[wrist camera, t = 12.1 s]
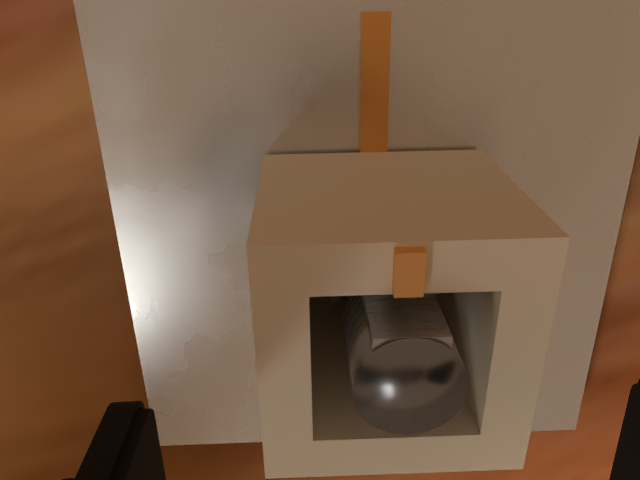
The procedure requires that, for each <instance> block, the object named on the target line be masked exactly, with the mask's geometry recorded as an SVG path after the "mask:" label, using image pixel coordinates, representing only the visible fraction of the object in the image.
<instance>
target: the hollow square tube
mask: <svg viewBox="0 0 640 480" xmlns="http://www.w3.org/2000/svg"><path fill="white" fill-rule="evenodd" d="M569 240H570V237H569V236H568V235H567V234H566V233H565V232H564V231H563V230H562V229H561V228H560V227H559V226H558V225H557V224H556V223H555V222H554V221H553V220H552V219H551V218H550V217H549V216H548V215H547V214H546V213H545V212H544V211H543V210H542V209H541V208H540V207H539V206H538V205H537V204H536V203H535V202H534V201H533V200H532V199H531V198H530V197H529V196H528V195H527V194H526V193H525V192H524V191H523V190H521V189H520V188H519V187H518V186H517V185H516V184H515V183H514V182H513V181H512V180H511V179H510V178H509V177H508V176H507V175H506V174H505V173H504V172H503V171H502V170H501V169H500V168H499V167H498V166H497V165H496V164H495V163H494V162H493V161H492V160H491V159H490V158H489V157H488V156H487V155H486V154H485V153H484V152H483V151H482V150H442V151H401V152H359V153H318V154H276V155H264V158H263V163H262V168H261V173H260V179H259V184H258V189H257V194H256V199H255V204H254V209H253V214H252V219H251V225H250V230H249V235H248V240H247V245H246V250H247V262H248V274H249V286H250V298H251V310H252V323H253V335H254V347H255V359H256V371H257V383H258V396H259V408H260V420H261V432H262V444H263V456H264V469H265V479H271V478H298V477H325V476H351V475H378V474H405V473H431V472H458V471H485V470H511V469H523V466H524V461H525V456H526V452H527V447H528V442H529V437H530V432H531V427H532V422H533V417H534V412H535V407H536V402H537V398H538V393H539V388H540V383H541V378H542V373H543V368H544V363H545V358H546V353H547V348H548V343H549V339H550V334H551V329H552V324H553V319H554V314H555V309H556V304H557V299H558V294H559V289H560V285H561V280H562V275H563V270H564V265H565V260H566V255H567V250H568V245H569ZM424 293H434V295H435V298H436V300H437V302H438V304H439V307H440V309H441V311H442V313H443V316H444V318H445V320H446V322H447V325H448V327H449V329H450V331H451V334H452V336H453V340H454V343H455V345H456V347H457V350H458V352H459V354H460V356H461V359H462V361H463V363H464V365H465V368H466V370H467V373H468V378H469V390H468V394H467V397H466V400H465V402H464V404H463V406H462V407H461V408H460V410H459V411H458V412H457V413H456V414H455V415H454V416H453V417H452V418H451V419H450V420H449V421H447V422H446V423H444V424H443V425H441V426H439V427H437V428H435V429H433V430H430V431H427V432H423V433H419V434H411V435H400V434H392V433H388V432H385V431H382V430H379V429H377V428H375V427H374V426H372V425H371V424H369V423H368V422H367V421H366V420H364V419H363V417H362V416H361V415H360V414H359V412H358V410H357V409H356V406H355V404H354V400H353V393H352V386H351V378H350V370H349V363H348V355H347V347H346V339H345V332H344V324H343V316H342V309H341V303H326V304H309V297H322V296H356V295H389V294H393V296H394V298H411V297H424Z"/></svg>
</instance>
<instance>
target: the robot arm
mask: <svg viewBox="0 0 640 480" xmlns="http://www.w3.org/2000/svg"><path fill="white" fill-rule="evenodd" d="M62 480H166V478H165V472H164V466H163V460H162V454H161V448H160V442H159V437H158V431H157V425H156V419H155V413H154V410H153V409H152V408H148V409H145V407H144V404H143V402H141V401H131V402H112V403H110V404H109V406H108V407H107V410H106V412H105V414H104V416H103V418H102V420H101V423H100V425H99V427H98V429H97V431H96V434H95V436H94V438H93V440H92V442H91V444H90V447H89V449H88V451H87V453H86V455H85V457H84V460H83V462H82V464H81V466H80V468H79V471H78V473H77V475H76V477H75V478H68V479H62ZM609 480H640V379H639V381H638V383H637V384H634V385H633V386H632V388H631V390H630V395H629V399H628V403H627V407H626V412H625V416H624V420H623V424H622V429H621V433H620V437H619V441H618V445H617V450H616V454H615V458H614V462H613V467H612V471H611V475H610V479H609Z"/></svg>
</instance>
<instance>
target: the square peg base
mask: <svg viewBox="0 0 640 480" xmlns="http://www.w3.org/2000/svg"><path fill="white" fill-rule="evenodd" d="M73 3H74V8H75V13H76V19H77V24H78V29H79V35H80V40H81V46H82V51H83V56H84V62H85V67H86V72H87V78H88V83H89V88H90V94H91V99H92V105H93V110H94V115H95V121H96V126H97V131H98V137H99V142H100V147H101V153H102V158H103V164H104V169H105V174H106V180H107V185H108V190H109V196H110V201H111V206H112V212H113V217H114V222H115V228H116V233H117V239H118V244H119V249H120V255H121V260H122V265H123V271H124V276H125V281H126V287H127V292H128V298H129V303H130V308H131V314H132V319H133V324H134V330H135V335H136V340H137V346H138V351H139V356H140V362H141V367H142V373H143V378H144V383H145V389H146V394H147V399H148V405H149V408H152V409H153V410H154V413H155V419H156V425H157V431H158V437H159V442H160V446H170V445H196V444H221V443H247V442H262V432H261V420H260V408H259V396H258V383H257V371H256V359H255V347H254V335H253V323H252V310H251V298H250V286H249V274H248V262H247V250H246V245H247V240H248V235H249V230H250V225H251V219H252V214H253V209H254V204H255V199H256V194H257V189H258V184H259V179H260V173H261V168H262V163H263V158H264V155H276V154H318V153H359V152H401V151H442V150H482V151H483V152H484V153H485V154H486V155H487V156H488V157H489V158H490V159H491V160H492V161H493V162H494V163H495V164H496V165H497V166H498V167H499V168H500V169H501V170H502V171H503V172H504V173H505V174H506V175H507V176H508V177H509V178H510V179H511V180H512V181H513V182H514V183H515V184H516V185H517V186H518V187H519V188H520V189H521V190H523V191H524V192H525V193H526V194H527V195H528V196H529V197H530V198H531V199H532V200H533V201H534V202H535V203H536V204H537V205H538V206H539V207H540V208H541V209H542V210H543V211H544V212H545V213H546V214H547V215H548V216H549V217H550V218H551V219H552V220H553V221H554V222H555V223H556V224H557V225H558V226H559V227H560V228H561V229H562V230H563V231H564V232H565V233H566V234H567V235H568V236H569V237H570V240H569V245H568V250H567V255H566V260H565V265H564V270H563V275H562V280H561V285H560V289H559V294H558V299H557V304H556V309H555V314H554V319H553V324H552V329H551V334H550V339H549V343H548V348H547V353H546V358H545V363H544V368H543V373H542V378H541V383H540V388H539V393H538V398H537V402H536V407H535V412H534V417H533V422H532V427H531V431H551V430H575V429H576V425H577V420H578V415H579V411H580V406H581V402H582V397H583V393H584V388H585V383H586V379H587V374H588V370H589V365H590V360H591V356H592V351H593V347H594V342H595V338H596V333H597V328H598V324H599V319H600V315H601V310H602V306H603V301H604V296H605V292H606V287H607V283H608V278H609V274H610V269H611V264H612V260H613V255H614V251H615V246H616V242H617V237H618V232H619V228H620V223H621V219H622V214H623V209H624V205H625V200H626V196H627V191H628V187H629V182H630V177H631V173H632V168H633V164H634V159H635V155H636V150H637V145H638V141H639V136H640V0H73ZM326 303H341V309H342V316H343V324H344V332H345V339H346V347H347V355H348V363H349V370H350V378H351V386H352V393H353V400H354V404H355V406H356V409H357V410H358V412H359V414H360V415H361V416H362V417H363V419H364V420H366V421H367V422H368V423H369V424H371V425H372V426H374V427H375V428H377V429H379V430H382V431H385V432H388V433H392V434H400V435H411V434H419V433H423V432H427V431H430V430H433V429H435V428H437V427H439V426H441V425H443V424H444V423H446V422H447V421H449V420H450V419H451V418H452V417H453V416H454V415H455V414H456V413H457V412H458V411H459V410H460V408H461V407H462V406H463V404H464V402H465V400H466V397H467V394H468V390H469V378H468V373H467V370H466V368H465V365H464V363H463V361H462V359H461V356H460V354H459V352H458V350H457V347H456V345H455V343H454V340H453V336H452V334H451V331H450V329H449V327H448V325H447V322H446V320H445V318H444V316H443V313H442V311H441V309H440V307H439V304H438V302H437V300H436V298H435V295H434V293H424V297H411V298H394V296H393V294H389V295H356V296H322V297H309V304H326Z"/></svg>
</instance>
